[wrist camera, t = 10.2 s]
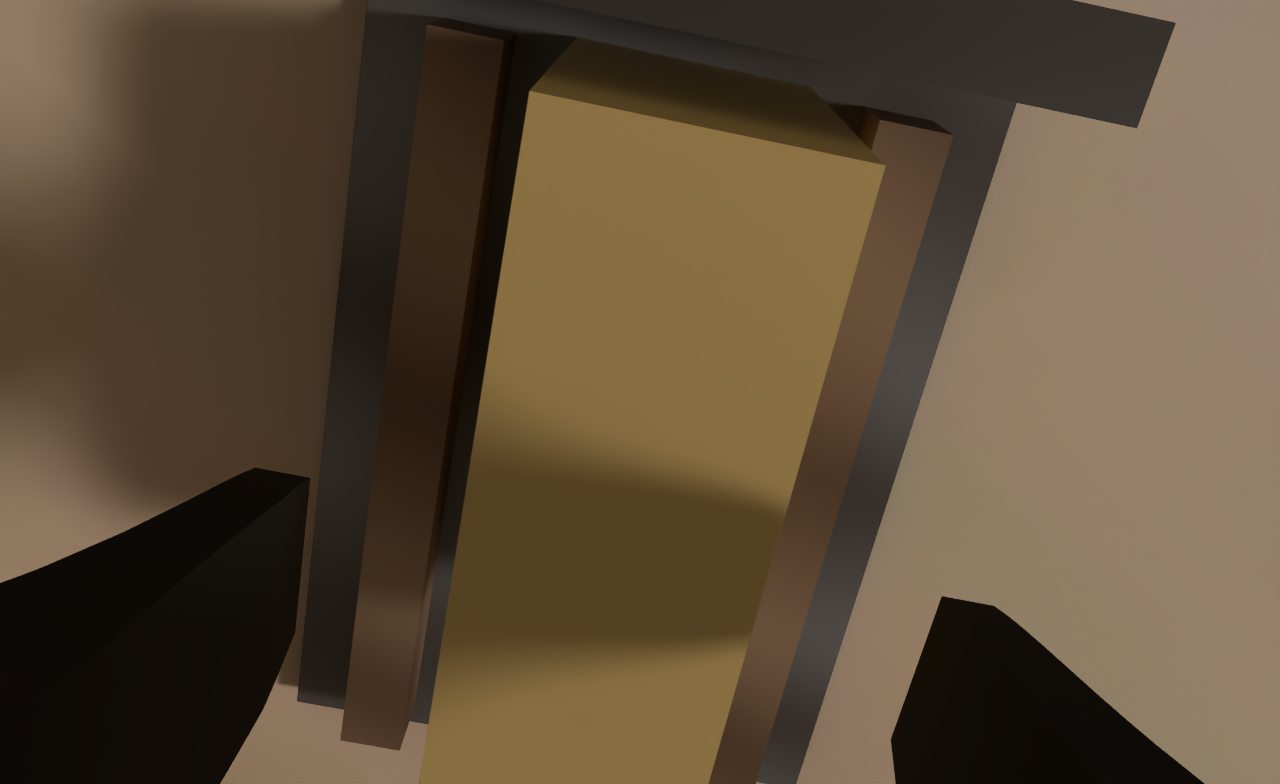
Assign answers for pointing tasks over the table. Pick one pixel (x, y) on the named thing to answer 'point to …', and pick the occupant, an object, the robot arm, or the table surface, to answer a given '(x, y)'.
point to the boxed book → (641, 414)
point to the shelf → (470, 271)
